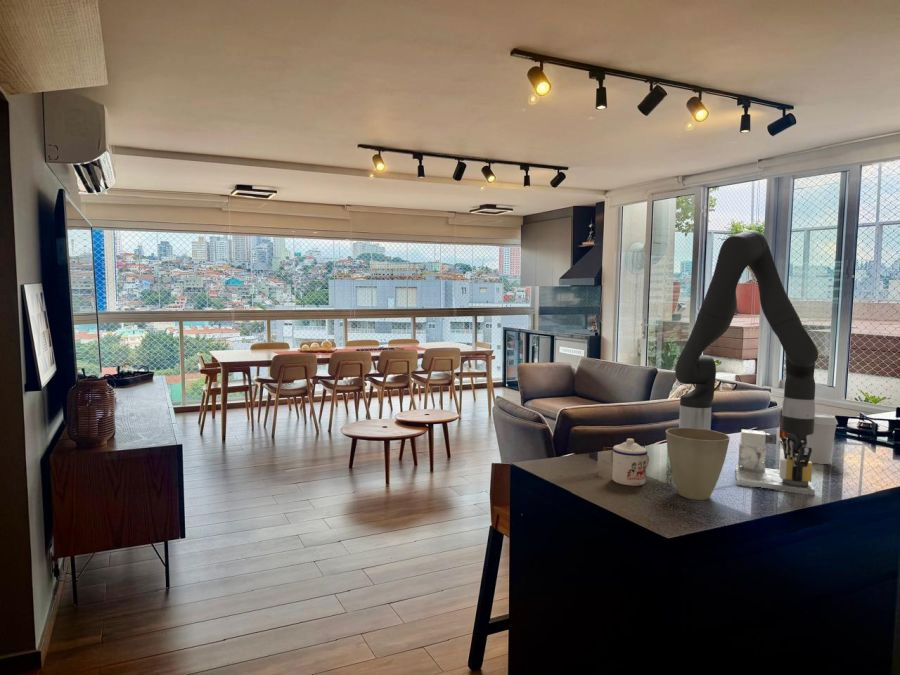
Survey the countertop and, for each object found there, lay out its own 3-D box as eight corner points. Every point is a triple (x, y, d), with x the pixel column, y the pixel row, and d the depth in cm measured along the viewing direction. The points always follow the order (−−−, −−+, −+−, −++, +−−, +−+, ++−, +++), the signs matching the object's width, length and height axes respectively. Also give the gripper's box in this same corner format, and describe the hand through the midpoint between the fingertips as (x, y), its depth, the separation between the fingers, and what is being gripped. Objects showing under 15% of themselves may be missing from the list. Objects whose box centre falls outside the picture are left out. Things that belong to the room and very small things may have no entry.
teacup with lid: (630, 488, 154) (631, 444, 154) (604, 479, 162) (605, 437, 161) (660, 482, 160) (662, 439, 160) (634, 473, 168) (636, 433, 168)
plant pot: (654, 495, 148) (656, 433, 147) (675, 483, 160) (677, 425, 159) (716, 509, 139) (719, 442, 138) (734, 495, 150) (737, 433, 149)
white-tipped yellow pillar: (808, 481, 158) (809, 459, 158) (812, 487, 153) (813, 464, 153) (778, 478, 161) (779, 456, 161) (781, 484, 156) (782, 461, 155)
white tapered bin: (803, 463, 185) (805, 416, 184) (798, 456, 194) (800, 411, 193) (838, 467, 181) (841, 419, 180) (831, 460, 190) (834, 414, 189)
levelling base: (736, 485, 159) (739, 439, 159) (735, 469, 176) (737, 428, 175) (814, 495, 152) (816, 447, 151) (805, 478, 168) (807, 434, 168)
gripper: (825, 420, 149) (821, 488, 150) (802, 411, 162) (799, 473, 163) (793, 418, 150) (789, 485, 151) (773, 409, 164) (769, 471, 165)
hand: (794, 478), depth 157 cm, fingers closed on white-tipped yellow pillar, 2 cm apart
